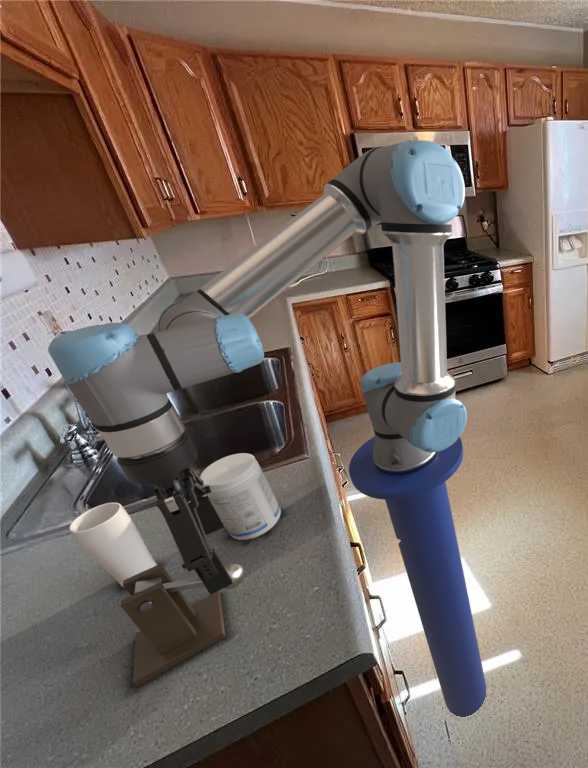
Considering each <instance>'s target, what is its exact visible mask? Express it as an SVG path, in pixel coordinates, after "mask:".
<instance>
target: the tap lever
mask: <svg viewBox="0 0 588 768" xmlns="http://www.w3.org/2000/svg"><path fill="white" fill-rule="evenodd" d="M224 567H225V569H226V570H227V572H228V574H229V576H230V577H231V579H232V583H233V584H231V585H229V586H227V587H225V588H224V589H226V590H230V589H234V588H236V587H238V586H239V585H241V583H242V582H243V581H244V579H245V575H246V571H245V569H244V566H242V565H241V564H240V563H239V564H238V563H231V564H227V565H226V566H225V565H224ZM159 582H160V583H161V578H156V579H150V580H144V581H138V582H136V584H135V593H134V594H136V593H138V592H140V591H142V590H144V589H147V588H149V587H151V586H153V585H155V584H157V583H159ZM162 585H163V587H164V588H165V589H166V591H167V592H168V593H171V592H176V591H181V592H182V591H185V590H192V589H196V588H202V587H205V585H204V584H203V582H202V581H201V579H200V577H199V576H197V577H193V578H188V579H182V580H176V581H173V582H170V583H164V584H162Z"/></svg>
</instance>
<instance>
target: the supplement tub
mask: <svg viewBox="0 0 588 768" xmlns="http://www.w3.org/2000/svg"><path fill="white" fill-rule="evenodd" d="M199 477H200V478H201V480H203V482H204V483H203V484H204V485H203V486H202V487H206V486H209V487H210V489H211V492H210V493H208V494H205V496H207V495H208V497H209V499H210V501H211V503H212V505H213V506H214V508H215V510H216V512H217V514H218V516H219V517H220V519H221V521H222V523H223V525H224V528H225V529H226V531H227V532H228V534H229V536H230V537H232V538H233V539H235V540H238V541H248V540H251V539H255V538H258V537H260V536H262V535H264V534H266V533H267V532H268V531H270V530H271V529H272V528H273V527H274V526H276V524H277V522H278V521H279V520H280V517H281V513H282V511H281V507H280V505H279V502H278V501H277V498H276V496H275V494H274V492H273V490H272V488H271V486H270V483H269V482H268V480H267V478H266V476H265V474H264V471H263V469H262V467H261V465H260V464H259V462H258V461H257V459H256V457H255V456H254V455H253V454H251V453H248V452H247V453H246V452H239V453H235V454H234V453H233V454H230V455H227V456H224V457H222V458H219V459H217V460H215V461H214V462H212V463H211V464H209V465H208V466H207V467H206V468H204V470H203V471H202V472H201V474H200V476H199Z"/></svg>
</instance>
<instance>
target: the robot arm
mask: <svg viewBox="0 0 588 768" xmlns="http://www.w3.org/2000/svg"><path fill="white" fill-rule="evenodd" d="M465 195H466V187H465V180H464V176H463V172H462V170H461V167H460V165H459V164H458V162H457V160H455V159H454V157H453V155H452V154H451V153H450V152H449V150H448V149H446V148H445V147H443V146H442V145H441V144H439V143H437V142H434V141H431V140H418V139H417V140H416V139H415V140H410V139H407V140H404V141H402V142H398V143H395V144H390V145H382V146H381V145H380V146H376V147H373V148H371V149H368V150H367V151H365V152H363V153H362V154H361V155H360V156H358V157H357V158H356V159H355V160H353V161H352V162H351V163H350V164H348V166H346V167H345V168H344V169H342V170H341V171H340V172H339V173H338V174H337V175H336V176H334V177H333V178H331V180H329V181H328V182H327V183H325V184H324V185H323V186H322V195H321V196H320V197H318V198H317V199H316V200H314V201H313V202H312V203H311V204H309V205H308V206H306V207H305V208H304V209H302V210H301V211H299V212H298V213H297V214H296V215H294V216H293V217H292V218H291V219H289V220H288V221H287V222H285V223H284V224H282V225H281V226H280V227H278V228H277V229H275V231H273V232H272V233H271V234H270V235H268V236H266V237H265V238H264V239H263V240H261V241H260V242H259V243H258V244H256V245H254V246H253V247H252V248H251V249H250V250H248V251H247V252H246V253H244V254H243V255H242V256H240V257H239V258H238V259H236V260H235V261H234V262H233V263H231V264H230V265H229V266H227V267H226V268H225V269H223V270H222V271H220V272H219V273H218V274H217V275H215V276H214V277H213V278H212V279H210V280H208V281H207V282H206V283H205V284H203V285H202V286H201V287H199V289H197V290H196V291H195V292H193V293H192V294H190V295H189V296H188V297H186V298H185V299H184V300H177V301H175V302H172V303H170V304H168V305H166V306H165V307H164V308H163V309H162V310H161V312H160V313H159V316H158V319H157V330H158V331H157V332H151V333H148V334H140V335H138V333H137V332H136V331H134V330H133V328H132V326H130V325H129V324H127V323H124V322H108V323H103V324H93V325H89V326H85V327H81V328H78V329H74V330H71V331H68V332H65V333H63V334H60V335H58V336H56V337H55V338H54V339H53V340H52V341H51V342H50V343H49V346H48V348H47V352H48V354H49V355H50V357H51V359H52V361H53V363H54V364H55V366H56V368H57V370H58V372H59V373H60V375H61V378H62V379H63V383H64V384H65V385H66V386H67V388H68V389H69V391H70V392H71V394H72V395H73V397H74V398H75V400H76V401H77V403H78V404H79V405H80V407H81V408H82V410H83V411H84V413H85V415H86V416H87V417H88V419H89V421H90V422H91V423H92V424H93V426H94V428H95V429H96V430H97V432H98V433H97V434H95V435H94V436H95V441H97V442H105V443H106V446H107V448H108V450H109V451H110V453H111V454H112V455H113V456H114V457H116V462H117V464H118V466H119V467H120V469H121V470H122V472H123V474H124V475H125V476H126V478H127V480H128V481H129V482H130V483H132V484H135V485H155V486H156V488H154V490H153V492H154V495H155V498H156V499H157V500H156V507H157V508H158V510H159V511H160V513H161V514H162V516H163V519H164V521H165V522H166V525H167V526H168V529H169V532H170V534H171V536H172V538H173V540H174V543H175V544H176V545H175V546H176V547H177V549H178V552H179V553H180V556H181V558H182V561H183V562H184V563H183V564H181V567H182V569H183V570H187V571H188V572H192V571H195V573H196V574H197V577H200V579H201V581H202V582H203V584H204V585H205V586H204V587H205V588H206V590H207V591H208V593H209V596H210V595H212V594H214V593H216V592H219V591H221V590H223V589H225V587H227V586H229V585H231V584H233V583H232V579H231V577H230V576H229V574H228V572H227V570H226V569H225V565H224V563H223V562H222V560H221V559H220V557H219V555H218V553H217V551H216V550H215V548H212V547H211V544H210V542H209V540H208V537H207V536H208V535H210V534H212V533H215V532H217V531H219V530H222V529H224V528H225V526H224V524H223V522H222V521H221V519H220V517H219V516H218V514H217V512H216V510H215V508H214V506H213V505H212V503H211V501H210V499H209V497H208V495H206V494H208V493H210V492H211V489H210V487H209V486H206V487H202V486H203V485H204V484H203V483H204V482H203V480H201V478H200V476H199V474H198V473H197V472H196V470H195V468H194V467H193V466H192V465H193V463H194V462H195V461H196V459H197V457H198V451H197V449H196V447H195V445H194V443H193V441H192V440H191V437H190V435H189V434H188V433H187V432H186V427H185V425H184V423H183V421H182V420H181V417H180V416H179V413H178V412H177V410H176V408H175V406H174V404H173V403H172V402H171V400H170V398H169V397H168V394H169V393H172V392H177V391H180V390H182V389H185V388H188V387H193V386H196V385H198V384H202V383H206V382H209V381H211V380H212V381H213V380H215V379H218V378H222V377H225V376H229V375H232V374H235V373H241V372H242V371H244V370H247V369H250V368H253V367H255V366H256V365H259V364H261V363H262V362H263V361H264V359H265V352H264V348H263V344H262V341H261V338H260V337H259V334H258V332H257V330H256V328H255V326H254V324H253V323H252V321H251V320H250V319H251V318H253V317H254V316H255V315H256V314H258V313H259V312H260V311H261V310H262V309H264V308H265V307H266V306H267V305H269V304H270V303H271V302H272V301H273V300H275V299H276V298H277V297H279V295H280V294H282V293H284V291H286V290H287V289H288V288H290V287H291V286H292V285H293V284H294V283H295V282H297V281H298V280H299V279H300V278H301V277H303V276H304V275H305V274H306V273H308V272H309V271H310V270H311V269H312V268H314V267H315V266H316V265H317V264H319V263H320V262H321V261H323V260H324V259H325V258H326V257H327V256H329V255H330V254H331V253H332V252H334V251H335V250H336V249H337V248H338V247H340V246H341V245H342V244H343V243H345V242H346V241H347V240H348V239H349V238H351V237H352V236H353V235H354V234H360V235H364V234H365V233H367V232H368V231H369V230H370V229H371V228H373V227H374V226H376V225H378V224H379V225H380V227H381V233H382V234H383V236H384V237H386V238H387V240H389V242H390V243H391V247H392V260H393V261H392V262H393V274H394V287H395V302H396V303H395V304H396V314H397V316H396V317H397V328H398V329H397V330H398V342H399V355H400V361H399V362H398V361H396V362H390V363H385V364H382V365H379V366H376V367H374V368H372V369H370V370H368V371H367V372H365V373H364V374H363V375H362V376H361V378H360V386H361V393H362V394H363V399H364V402H365V406H366V410H367V412H368V416H369V419H370V423H371V426H372V429H373V432H374V436H375V438H374V448H373V460H374V463H375V466H376V468H377V469H378V470H379V471H381V472H383V473H386V474H390V475H403V474H408V473H412V472H415V471H418V470H420V469H422V468H424V467H425V466H427V465H428V464H430V463H431V462H432V461H433V460H434V459H435V457H436V456H437V454H438V452H439V451H442V450H445V449H446V448H448V447H450V446H451V445H452V444H453V443H454V442H456V440H457V439H458V437H461V435H462V434H463V432H464V431H465V428H466V425H467V422H468V411H467V409H466V407H465V405H464V404H463V403H462V401H460V400H459V399H456V380H455V378H454V377H453V376H452V375H450V373H448V358H447V353H448V352H447V323H446V322H447V321H446V291H445V289H446V288H445V287H446V286H445V254H444V253H445V251H444V245H445V243H446V241H447V240H448V239H449V238H450V237H451V236H452V235H453V222H452V221H453V219H455V218H456V217H457V216H458V215H459V211H460V210H462V209H463V206H464V202H465V198H466V197H465Z"/></svg>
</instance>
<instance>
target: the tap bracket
mask: <svg viewBox="0 0 588 768" xmlns="http://www.w3.org/2000/svg"><path fill="white" fill-rule="evenodd" d="M156 578H161V583H160V582H159V583H157V584H155V585H153V586H151V587H149V588H147V589H144V590H142V591H140V592H138V593H136V594H134V593H135V584H136V582H138V581H144V580H150V579H156ZM170 582H174V580H173V578H172V577H171V576H170V575H169V573H168V571H167V570H166V569H165V568H164V566H163V565H162V563H159V564H157V565H156V566H154V567H152V568H150V569H148V570H145V571H143V572H141V573H139V574H137V575H134V576H132V577H130V578H128V579H126V580H124V581H123V586H124V587H125V588H124V587H123V588H124V589H125V590H126V591H127V592H128V594H129V596H127V597H125V598H123V599H121V600H120V604H119V606H120V608H122V610H123V611H124V612H125V614H126V615H127V617H129V619H131V621H132V622H133V623H134V625H136V627H137V628H138V629H139V631H137V632H135V634H136V635H135V643H134V644H135V645H134V657H133V670H132V671H133V672H132V680H131V681H132V682H131V683H132V684H133V685H134V686H135V687H136V688H138V687H139V686H141V685H143V684H144V683H146V682H149V681H150V680H151V679H153V678H155V677H157V676H159V675H161V674H162V673H164V672H165V671H167V670H169V669H171V668H173V667H175V666H176V665H178V664H180V663H182V662H183V661H186V660H187V659H189V658H191V657H192V656H194V655H196V654H197V653H200V652H202V651H203V650H205V649H207V648H208V647H210V646H212V645H214V644H216V643H217V642H220V641H221V640H223V639H224V638H226V630H225V621H224V613H223V605H222V597H221V594H220V592H219V591H217V592H215V593H213V594H211V595H210V594H209V595H208V596H205V597H204V598H202V599H200V600H198V601H196V602H194V603H191V604H190V603H189V601H188V599H187V598H186V597H185V596H184V594H183V592H182V590H181V591H176V592H171V593H168V592H167V591H166V589H165V588H164V587H163V585H162V584H164V583H170Z"/></svg>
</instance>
